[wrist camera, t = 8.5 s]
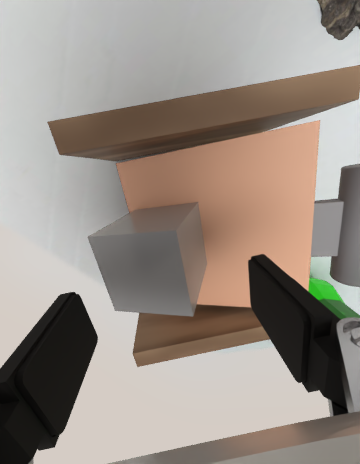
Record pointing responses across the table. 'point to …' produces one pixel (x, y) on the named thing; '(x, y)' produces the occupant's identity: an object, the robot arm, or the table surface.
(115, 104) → the table surface
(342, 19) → the rock specimen
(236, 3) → the table surface
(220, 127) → the wooden bench
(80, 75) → the table surface
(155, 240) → the grey cube
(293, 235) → the trapdoor
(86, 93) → the table surface
